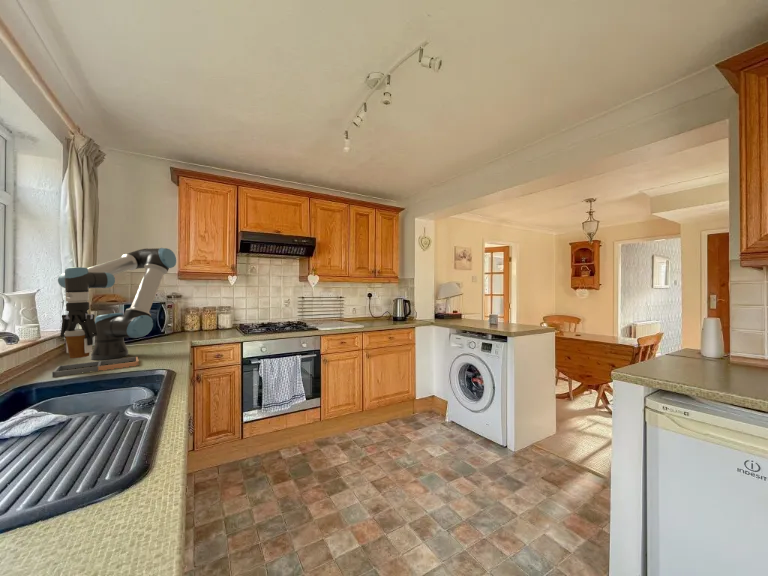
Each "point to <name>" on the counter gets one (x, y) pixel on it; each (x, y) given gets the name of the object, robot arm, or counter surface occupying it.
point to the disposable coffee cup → (76, 343)
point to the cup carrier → (97, 363)
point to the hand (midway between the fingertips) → (79, 352)
